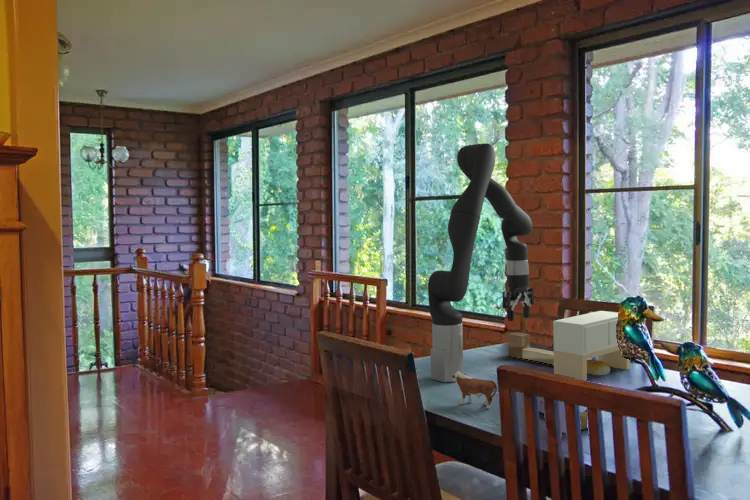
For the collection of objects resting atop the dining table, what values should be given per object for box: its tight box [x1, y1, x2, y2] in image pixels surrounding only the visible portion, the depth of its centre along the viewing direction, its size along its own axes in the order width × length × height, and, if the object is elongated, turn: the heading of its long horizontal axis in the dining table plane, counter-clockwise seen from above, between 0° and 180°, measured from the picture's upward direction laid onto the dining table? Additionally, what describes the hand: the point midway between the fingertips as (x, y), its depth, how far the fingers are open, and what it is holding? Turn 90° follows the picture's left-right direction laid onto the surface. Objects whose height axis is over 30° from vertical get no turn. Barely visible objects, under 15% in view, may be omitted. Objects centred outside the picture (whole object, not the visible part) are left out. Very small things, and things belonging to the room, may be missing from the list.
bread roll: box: [587, 358, 611, 376], centre depth 194 cm, size 8×9×4 cm
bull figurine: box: [452, 371, 498, 410], centre depth 164 cm, size 4×13×8 cm, turn 51°
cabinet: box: [552, 310, 631, 381], centre depth 192 cm, size 26×10×18 cm, turn 129°
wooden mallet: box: [507, 331, 554, 366], centre depth 210 cm, size 4×24×8 cm, turn 38°
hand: (518, 319), depth 217 cm, fingers open, 8 cm apart
